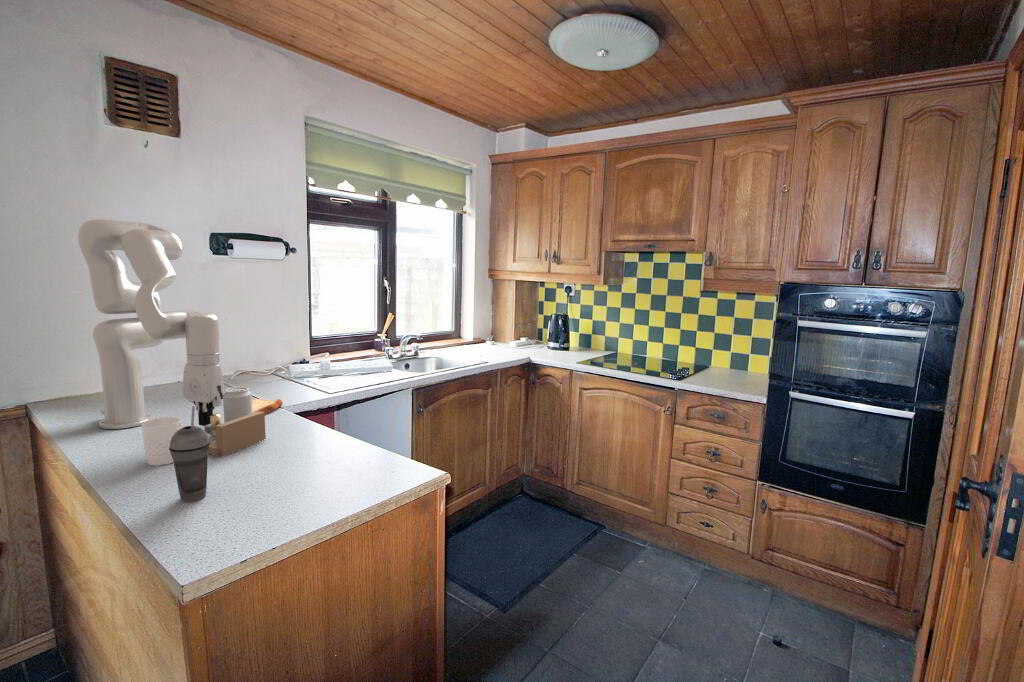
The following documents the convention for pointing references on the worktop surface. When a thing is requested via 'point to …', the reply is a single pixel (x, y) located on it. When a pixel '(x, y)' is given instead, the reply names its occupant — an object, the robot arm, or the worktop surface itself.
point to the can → (237, 403)
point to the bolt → (214, 423)
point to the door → (235, 433)
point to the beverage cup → (190, 461)
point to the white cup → (159, 439)
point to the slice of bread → (265, 405)
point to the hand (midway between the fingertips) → (206, 424)
